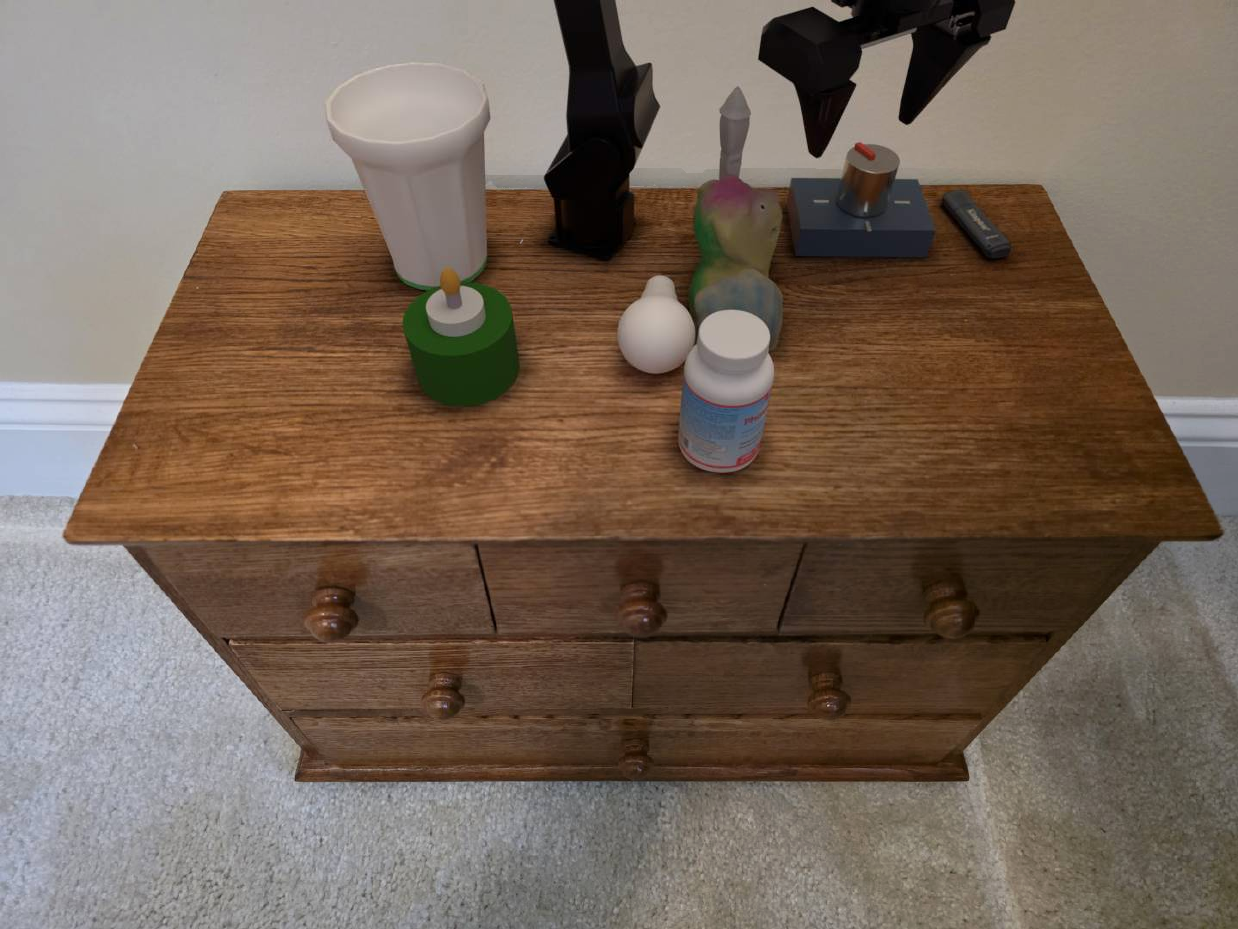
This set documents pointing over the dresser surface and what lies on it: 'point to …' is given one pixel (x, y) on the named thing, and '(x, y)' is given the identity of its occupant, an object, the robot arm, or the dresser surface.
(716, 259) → the sculpture
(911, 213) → the dial base
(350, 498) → the dresser surface
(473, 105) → the cup
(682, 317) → the lightbulb
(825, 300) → the dresser surface
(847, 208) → the dial knob
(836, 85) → the robot arm
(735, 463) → the pill bottle
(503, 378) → the candle
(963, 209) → the usb stick
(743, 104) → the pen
